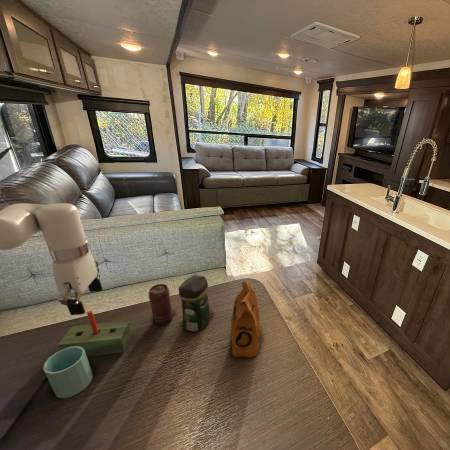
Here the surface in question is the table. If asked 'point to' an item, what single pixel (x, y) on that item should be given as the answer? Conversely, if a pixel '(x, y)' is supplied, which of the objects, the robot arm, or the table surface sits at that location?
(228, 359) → the table surface
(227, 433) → the table surface
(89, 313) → the straw
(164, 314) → the can
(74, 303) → the robot arm
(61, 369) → the tumbler
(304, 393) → the table surface
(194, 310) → the coffee jar
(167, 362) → the table surface
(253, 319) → the coffee package
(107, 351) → the straw holder
